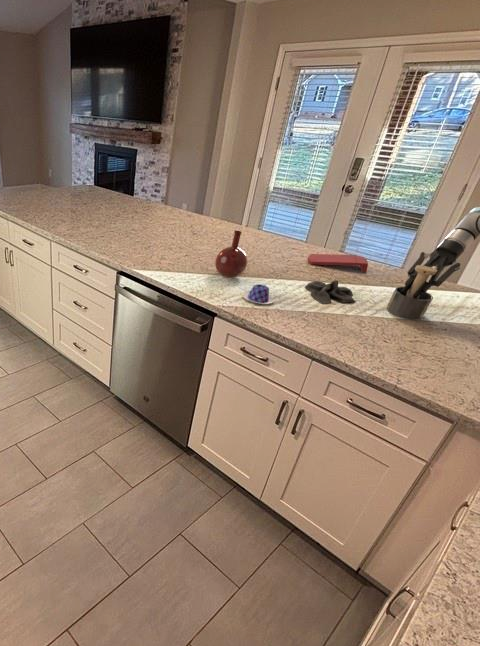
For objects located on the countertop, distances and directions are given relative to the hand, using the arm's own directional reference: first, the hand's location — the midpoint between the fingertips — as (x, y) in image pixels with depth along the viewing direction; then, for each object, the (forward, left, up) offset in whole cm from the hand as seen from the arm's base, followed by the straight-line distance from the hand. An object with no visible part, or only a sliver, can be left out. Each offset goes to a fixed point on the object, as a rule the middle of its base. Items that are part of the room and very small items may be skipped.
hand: (408, 294), depth 153 cm
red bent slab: (+39, -33, -8) cm, 52 cm away
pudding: (+39, +34, -8) cm, 53 cm away
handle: (-1, -4, -5) cm, 7 cm away
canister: (-1, -4, -8) cm, 9 cm away
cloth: (+24, +5, -8) cm, 26 cm away
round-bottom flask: (+60, +25, -8) cm, 66 cm away
